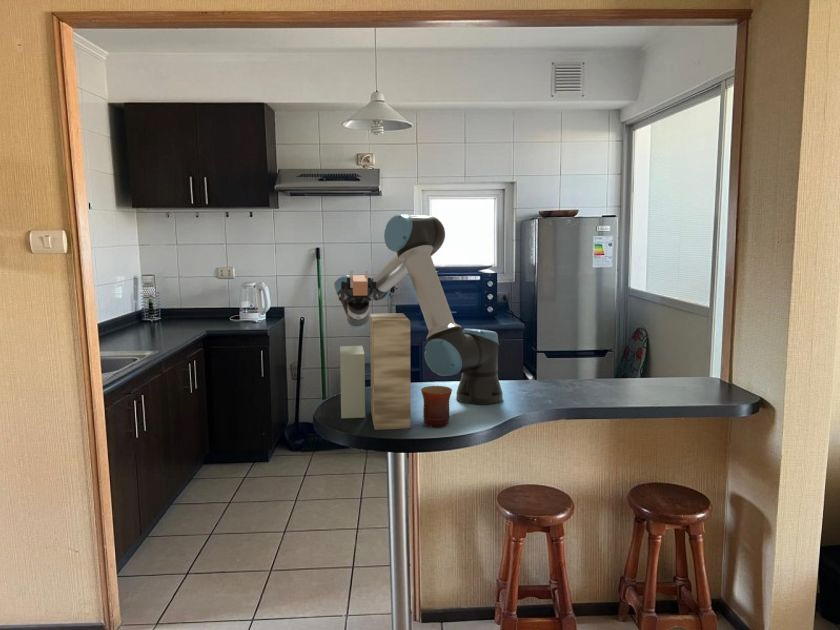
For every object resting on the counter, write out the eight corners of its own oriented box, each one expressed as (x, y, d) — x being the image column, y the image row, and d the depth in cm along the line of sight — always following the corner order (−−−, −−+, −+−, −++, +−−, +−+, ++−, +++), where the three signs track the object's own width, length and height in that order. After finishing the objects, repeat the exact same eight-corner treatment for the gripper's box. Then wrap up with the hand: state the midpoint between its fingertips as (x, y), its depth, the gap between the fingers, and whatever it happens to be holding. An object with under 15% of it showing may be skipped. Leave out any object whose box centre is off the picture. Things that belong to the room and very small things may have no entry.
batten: (352, 287, 197) (352, 275, 197) (364, 287, 198) (364, 275, 197) (353, 295, 170) (353, 281, 169) (367, 295, 170) (367, 281, 170)
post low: (340, 405, 190) (340, 346, 187) (363, 404, 191) (362, 345, 188) (341, 418, 176) (340, 354, 174) (365, 417, 177) (364, 354, 175)
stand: (370, 411, 183) (369, 313, 179) (403, 410, 185) (403, 313, 181) (374, 429, 166) (373, 322, 162) (410, 428, 167) (410, 321, 163)
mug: (456, 427, 168) (457, 391, 166) (427, 431, 164) (427, 394, 163) (440, 415, 179) (440, 382, 177) (412, 419, 176) (412, 384, 174)
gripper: (383, 314, 208) (386, 285, 187) (333, 315, 206) (331, 285, 185) (382, 294, 211) (386, 264, 190) (333, 295, 209) (331, 264, 188)
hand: (359, 275), depth 187 cm, fingers closed on batten, 4 cm apart
